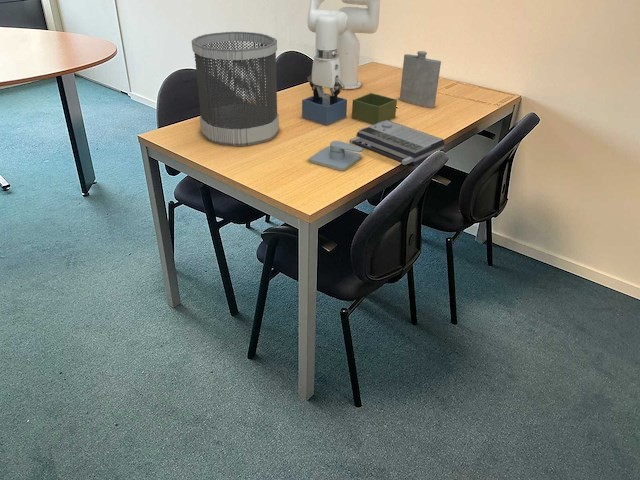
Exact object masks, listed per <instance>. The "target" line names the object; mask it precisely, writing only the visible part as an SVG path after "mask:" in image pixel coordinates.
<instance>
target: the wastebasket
mask: <svg viewBox="0 0 640 480" xmlns="http://www.w3.org/2000/svg"><path fill="white" fill-rule="evenodd" d="M191 48H192V49H191V50H192V52H193V54H194V61H195V73H196V82H197V91H198V93H197V94H198V99H199V100H198V101H199V111H200V115H199V122H200V123H199V124H200V125H199V126H200V134H201V136H202V137H203V138H204V139H206V140H207V141H208V142H211V143H212V144H215V145H220V146H227V147H246V146H247V147H249V146H254V145H259V144H264V143H266V142H270V141H272V140H274V139H275V138H276V137H277V135H278V134H279V132H280V120H279V119H280V118H279V117H280V116H279V115H280V114H279V113H278V89H277V88H278V87H277V84H278V83H277V51H278V40H277V39H276V38H275V37H273V36H270V35H268V34H265V33H260V32H252V31H251V32H250V31H222V32H212V33H211V32H210V33H206V34H202V35H199V36H196V37H195V38H192V40H191Z"/></svg>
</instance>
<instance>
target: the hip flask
mask: <svg viewBox="0 0 640 480" xmlns="http://www.w3.org/2000/svg"><path fill="white" fill-rule="evenodd" d="M427 54H428V52H427V51H425V50H419V51H417V53H416V55H415V54H410V53H409V54H408V53H406V54H404V55H403V64H402V71H401V73H402V74H401V84H400V91H399V92H400V93H399V100H400V101H402V102H404V103H409V104H412V105H415V106H419V107H424V108H429V109H434V108H435V106H436V99H437V92H438V85H439V78H440V71H441V65H442V61H441V60H438V59H431V58H427Z"/></svg>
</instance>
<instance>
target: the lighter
mask: <svg viewBox="0 0 640 480" xmlns="http://www.w3.org/2000/svg"><path fill="white" fill-rule="evenodd" d="M316 88H317V91H318V94H319V97H320V98H321V97H322V105H324V106H330V96H331V94H329V93H325V91H324V89H323V88H324V87H321V86H317V87H316ZM324 93H325V94H326V95H325V94H324ZM328 94H329V95H328Z"/></svg>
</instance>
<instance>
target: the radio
mask: <svg viewBox="0 0 640 480" xmlns="http://www.w3.org/2000/svg"><path fill="white" fill-rule="evenodd" d="M348 144H351V145H355V146H358V147H361V148H363V149H364V150H368V151H370V152H372V153H374V154H378V155H380V156H382V157H385V158H387V159H390V160H393V161H396V162H398V163H400V164H401V165H404V166H406V165H411V166H413V167H416V166H418V165H419V164H422V163H424V162H425V161H424V160H425V159H426V158H427V157H428V156H429V155H431V154H432V153H434V152H436V151H438V150H440V151H443V152H444V150H445V145H446V143H445V141H444V138H441V137H439V136H436V135H432V134H429V133H427V132H424V131H422V130H421V131H420V130H417V129H415V128H411V127H409V126H406V125H404V124H400V123H397V122H394V121H392V120H385V121H382V122H380V123H377V124H371V125H369V126H366V127H363V128H359V129H358V131H357V132H356V136H355V137H353V138H350V139H349V143H348ZM423 161H424V162H423ZM421 162H422V163H421Z"/></svg>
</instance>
